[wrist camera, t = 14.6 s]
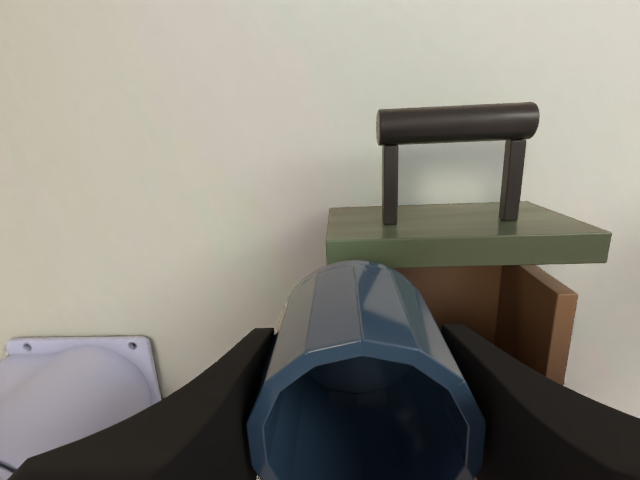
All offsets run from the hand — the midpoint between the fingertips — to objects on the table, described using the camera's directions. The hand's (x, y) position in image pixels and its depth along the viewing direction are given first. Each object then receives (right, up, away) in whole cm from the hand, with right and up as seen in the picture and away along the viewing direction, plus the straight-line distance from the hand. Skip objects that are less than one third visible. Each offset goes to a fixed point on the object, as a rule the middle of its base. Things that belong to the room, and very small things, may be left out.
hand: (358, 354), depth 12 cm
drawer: (+5, +2, +9) cm, 10 cm away
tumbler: (0, 0, +1) cm, 1 cm away
